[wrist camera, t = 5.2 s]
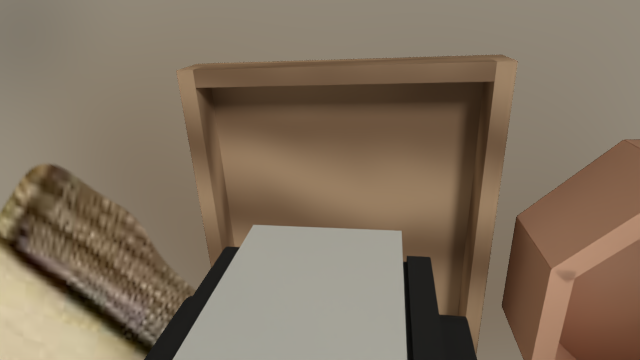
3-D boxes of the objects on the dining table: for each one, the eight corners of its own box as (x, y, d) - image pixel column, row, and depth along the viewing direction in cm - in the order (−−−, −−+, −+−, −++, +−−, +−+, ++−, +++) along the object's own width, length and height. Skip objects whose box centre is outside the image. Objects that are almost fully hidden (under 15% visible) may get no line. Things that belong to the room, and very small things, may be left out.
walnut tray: (197, 63, 21) (176, 70, 19) (501, 54, 19) (517, 61, 16) (241, 343, 28) (229, 372, 26) (463, 359, 26) (471, 391, 24)
